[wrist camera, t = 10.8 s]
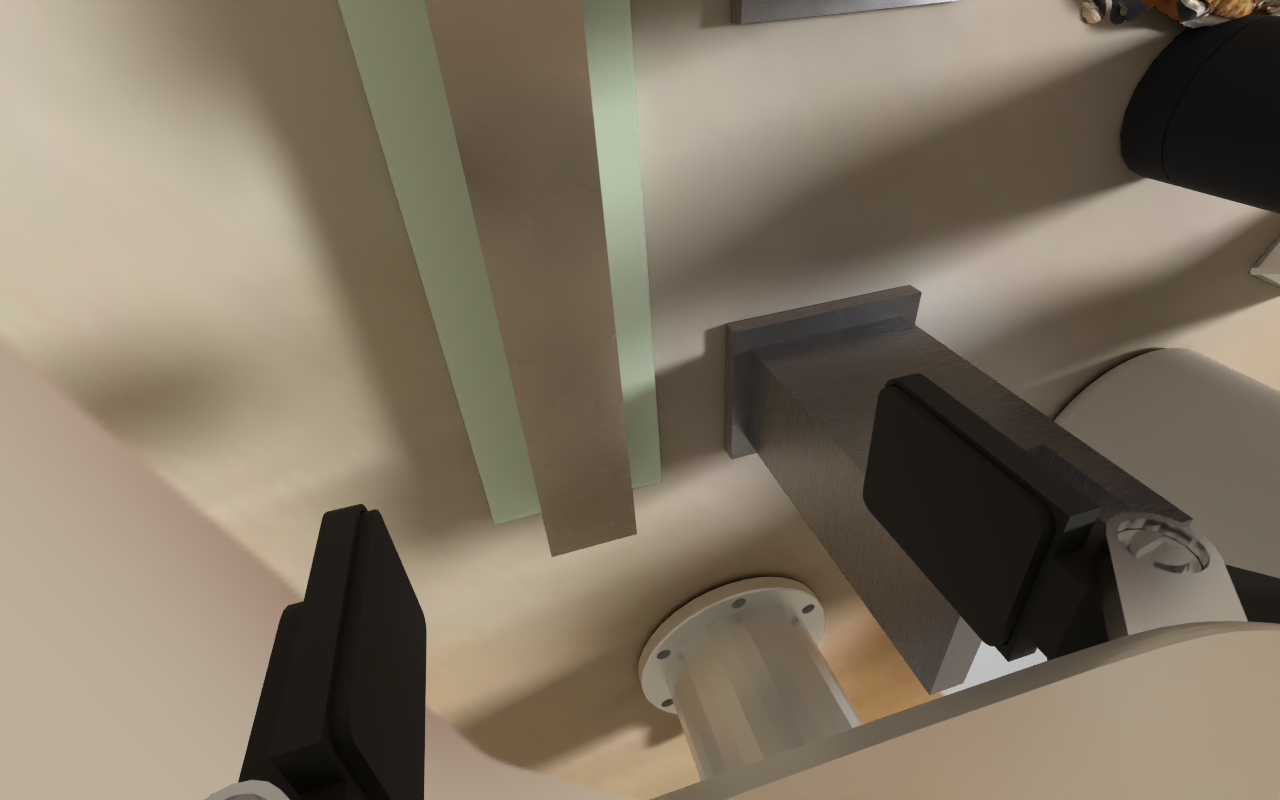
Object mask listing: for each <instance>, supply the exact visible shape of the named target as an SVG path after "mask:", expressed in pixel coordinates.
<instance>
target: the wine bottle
mask: <svg viewBox="0 0 1280 800" xmlns="http://www.w3.org/2000/svg"><path fill="white" fill-rule="evenodd" d="M1121 144H1122V156H1123V158H1124V160H1125V162H1126V164H1127V166H1128V168H1129V169H1130V170H1132V171H1133V172H1135V173H1137V174H1139V175H1141V176H1143V177H1146V178H1150V179H1154V180H1158V181H1161V182H1165V183H1169V184H1172V185H1176V186H1180V187H1183V188H1187V189H1191V190H1194V191H1198V192H1202V193H1205V194H1209V195H1213V196H1217V197H1220V198H1224V199H1228V200H1231V201H1235V202H1239V203H1242V204H1246V205H1250V206H1253V207H1257V208H1261V209H1264V210H1268V211H1272V212H1276V213H1279V214H1280V16H1270V15H1245V16H1243V17H1241V18H1239V19H1235V20H1231V21H1227V22H1223V23H1221V24H1218V25H1215V26H1212V27H1210V26H1202V27H1197V28H1190V29H1188V30H1187V31H1186V32H1184V33H1183V34H1181V35H1180V36H1179V37H1177V38H1176V39H1175V40H1174V41H1173V42H1172V43H1171V44H1170V45H1169V46H1168V47H1167V48H1166V50H1165V51H1164V52H1163V53H1162V54H1161V55H1160V56H1159V57H1158V58H1157V59H1156V60H1155V61H1154V63H1153V64H1152V66H1151V67H1150V69H1149V70H1148V72H1147V73H1146V75H1145V76H1144V78H1143V79H1142V81H1141V82H1140V84H1139V85H1138V87H1137V89H1136V92H1135V94H1134V96H1133V98H1132V101H1131V103H1130V105H1129V107H1128V109H1127V112H1126V116H1125V120H1124V125H1123V129H1122V133H1121Z"/></svg>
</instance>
